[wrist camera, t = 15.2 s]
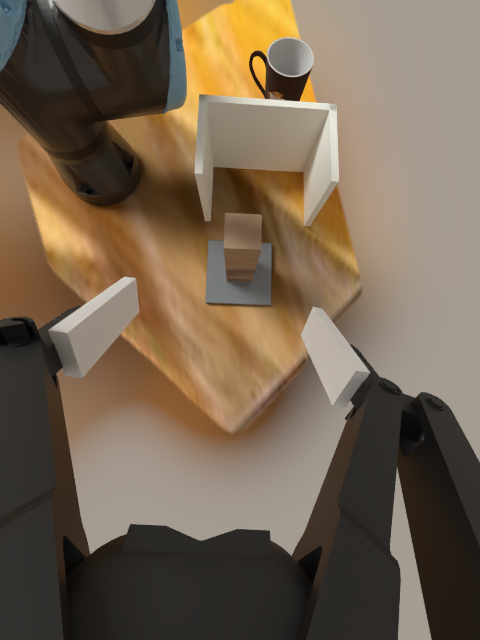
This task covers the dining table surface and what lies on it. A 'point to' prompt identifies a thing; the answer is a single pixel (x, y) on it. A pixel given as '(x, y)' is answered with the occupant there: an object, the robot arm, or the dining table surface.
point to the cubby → (268, 144)
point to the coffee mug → (285, 69)
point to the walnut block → (242, 245)
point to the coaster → (237, 291)
